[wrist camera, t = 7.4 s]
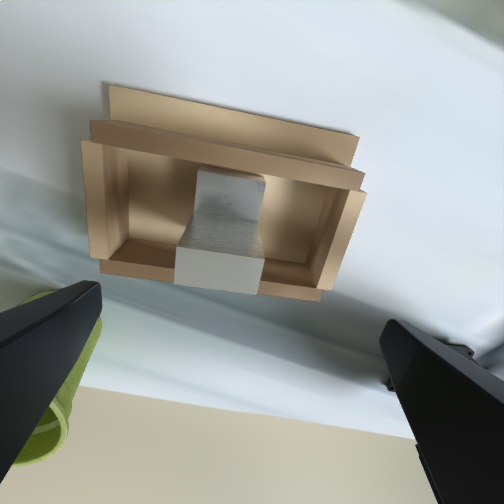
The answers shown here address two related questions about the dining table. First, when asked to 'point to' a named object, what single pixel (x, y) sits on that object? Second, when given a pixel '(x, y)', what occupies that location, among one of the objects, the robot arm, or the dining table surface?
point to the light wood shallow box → (224, 157)
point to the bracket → (223, 233)
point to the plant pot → (56, 408)
